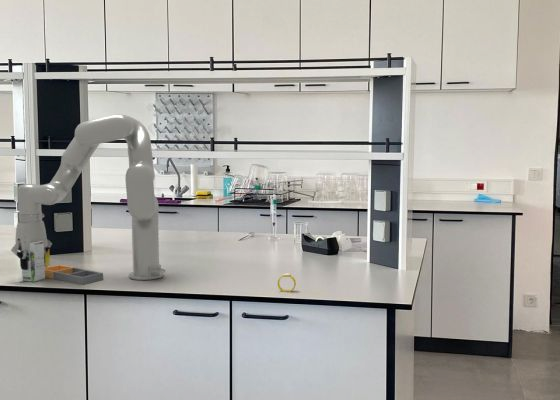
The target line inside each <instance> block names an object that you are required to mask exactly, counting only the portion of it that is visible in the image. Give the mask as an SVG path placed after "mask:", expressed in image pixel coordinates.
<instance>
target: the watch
mask: <svg viewBox="0 0 560 400" xmlns="http://www.w3.org/2000/svg"><path fill="white" fill-rule="evenodd" d="M283 278H291V279H292V281H293V288H291V289H283V288H282V287H281V285H280V282H281V281H280V280H281V279H283ZM296 283H297V282H296V279H295V278H294V276H293V275H291V273H288V272H287V273H286V272H285V273H282V275H281V276H280V277H279V278H278V280H277V287H278V290H280V291H281V292H284V293H286V292H287V293H288V292H290V293H291V292H292V291H294V290H295V288H296V285H297V284H296Z"/></svg>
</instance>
